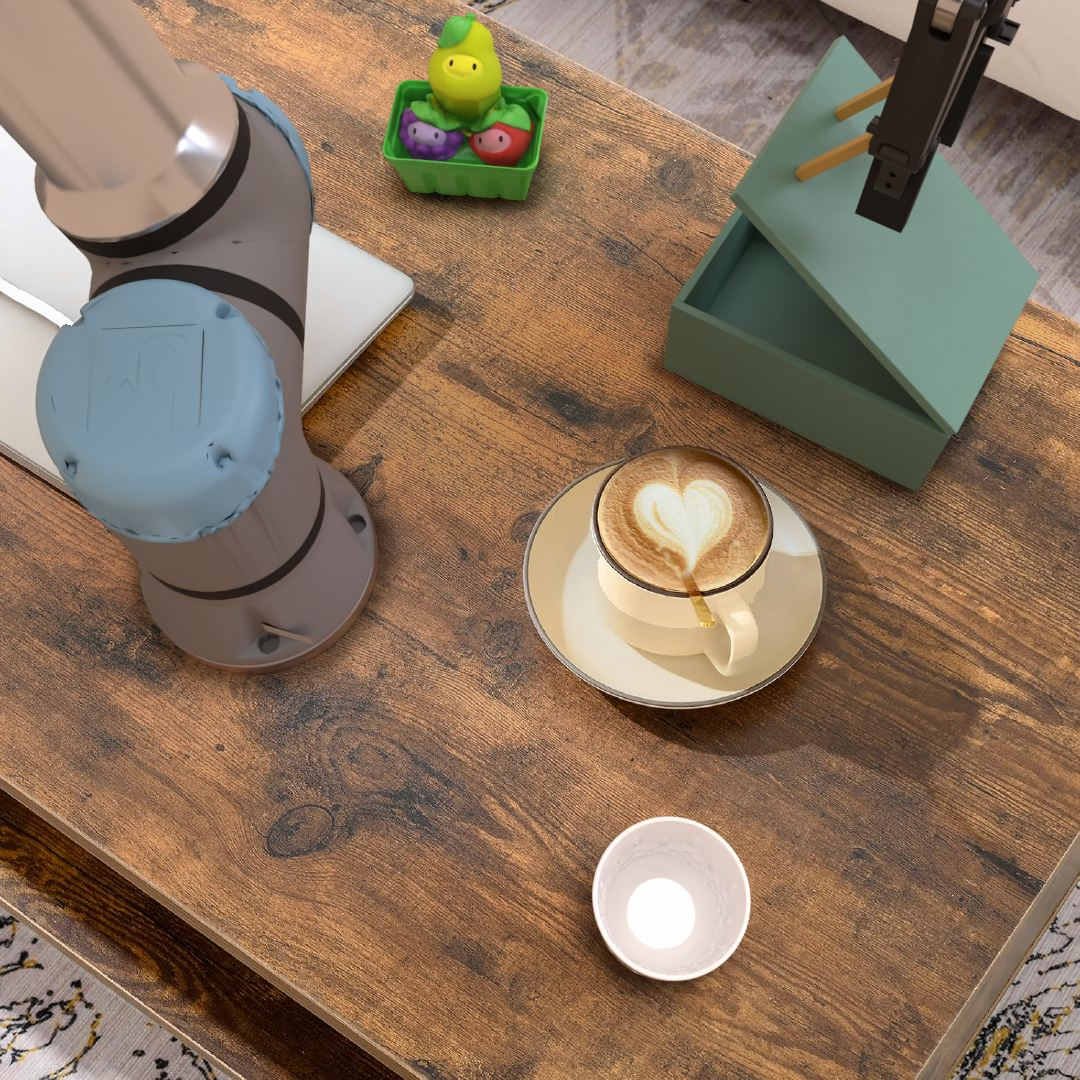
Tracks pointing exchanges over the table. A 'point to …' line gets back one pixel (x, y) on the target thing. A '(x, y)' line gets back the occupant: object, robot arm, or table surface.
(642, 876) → the white cup
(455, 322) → the table surface
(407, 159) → the fruit basket
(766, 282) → the chest
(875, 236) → the lid
